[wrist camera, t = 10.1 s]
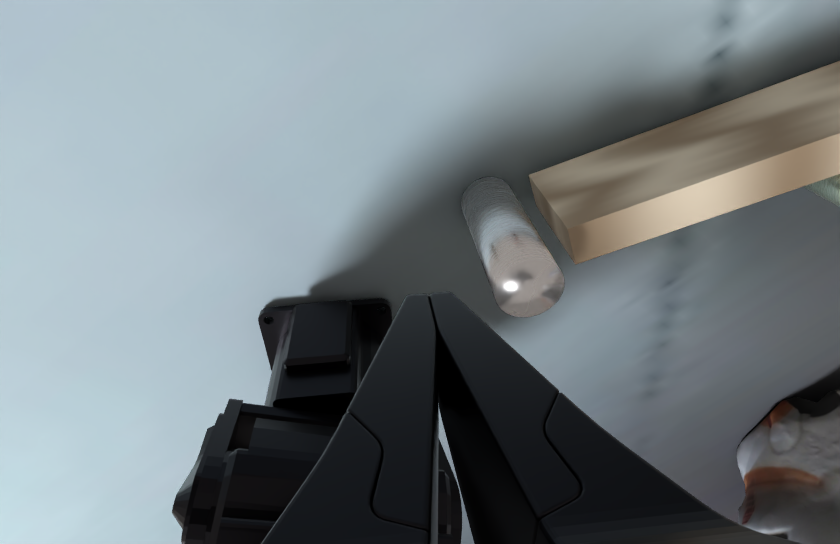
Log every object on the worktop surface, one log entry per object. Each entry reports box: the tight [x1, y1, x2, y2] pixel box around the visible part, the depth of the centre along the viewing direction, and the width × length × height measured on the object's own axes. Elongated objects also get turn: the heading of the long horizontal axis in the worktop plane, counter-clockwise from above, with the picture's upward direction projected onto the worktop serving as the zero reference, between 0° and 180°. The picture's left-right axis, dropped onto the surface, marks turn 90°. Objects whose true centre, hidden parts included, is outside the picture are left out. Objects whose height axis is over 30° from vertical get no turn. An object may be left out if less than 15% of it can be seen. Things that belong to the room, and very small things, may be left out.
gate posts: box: [461, 174, 840, 317], centre depth 20 cm, size 2×16×7 cm, turn 99°
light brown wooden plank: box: [529, 61, 840, 265], centre depth 19 cm, size 17×2×5 cm, turn 110°
